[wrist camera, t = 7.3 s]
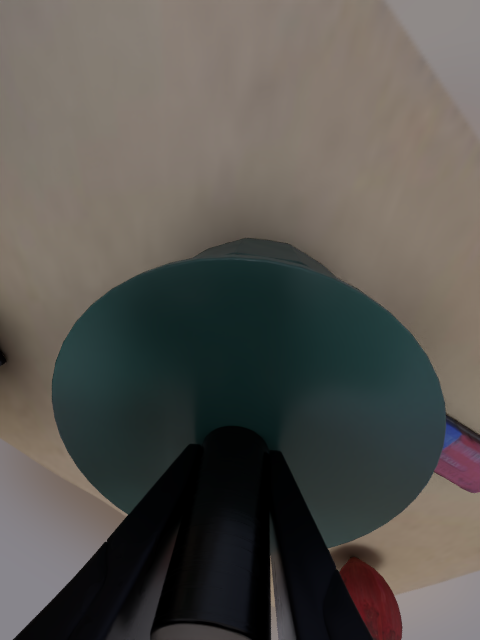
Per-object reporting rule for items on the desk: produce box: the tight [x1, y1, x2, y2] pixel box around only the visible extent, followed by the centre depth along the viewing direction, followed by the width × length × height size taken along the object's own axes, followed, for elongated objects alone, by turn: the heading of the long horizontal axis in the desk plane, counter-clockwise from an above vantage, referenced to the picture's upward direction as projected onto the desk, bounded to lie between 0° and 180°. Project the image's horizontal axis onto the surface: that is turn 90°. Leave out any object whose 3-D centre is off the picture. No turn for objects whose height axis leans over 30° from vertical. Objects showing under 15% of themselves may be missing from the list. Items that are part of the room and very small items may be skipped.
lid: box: [52, 254, 446, 640], centre depth 7 cm, size 14×14×6 cm
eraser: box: [434, 415, 480, 493], centre depth 19 cm, size 11×4×2 cm, turn 58°
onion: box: [339, 557, 402, 640], centre depth 24 cm, size 6×6×8 cm
